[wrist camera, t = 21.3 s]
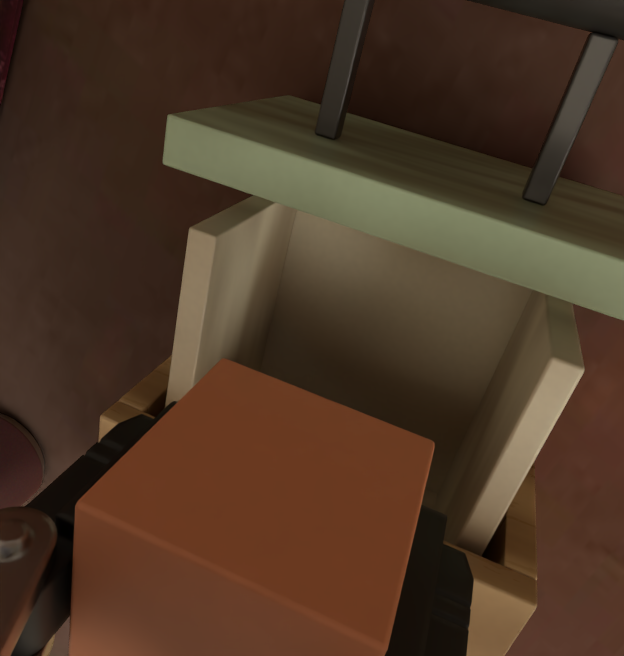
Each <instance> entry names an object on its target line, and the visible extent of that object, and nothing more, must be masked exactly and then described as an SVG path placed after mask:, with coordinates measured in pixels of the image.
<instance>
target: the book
mask: <svg viewBox="0 0 624 656" xmlns="http://www.w3.org/2000/svg"><path fill="white" fill-rule="evenodd" d="M22 5H23V0H0V105H1V101H2V96H3V92H4V87H5V82H6V78H7V73H8V69H9V64H10V60H11V55H12V50H13V46H14V41H15V37H16V32H17V28H18V23H19V18H20V14H21V9H22Z"/></svg>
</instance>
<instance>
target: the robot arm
mask: <svg viewBox="0 0 624 656" xmlns="http://www.w3.org/2000/svg"><path fill="white" fill-rule="evenodd" d="M176 403H177V401H173V402H171V403H170V404H169V405H167V406H166V407H165V408H164V409H163V410H162V411H161V412H160V413H159V414H158V415H157V416H156V417H155V418H154V419H153V418H151V417H148V416H146V415H144V414H140V415H137V416H135V417H132V418H130V419H128V420H125V421H123V422H120V423H118V424H117V425H116V426H115V427H113V428H112V429H111V430H110V431H109V432H108V433H107V434H106V435H105V436H103V437H102V438H101V440H100V442H99V443H98V442H97V443H96V444H95V445H93V446H92V447H91V448H90V449H89V450H88V451H87V452H86V454H85V456H84V455H82V456H81V457H80V458H79V459H78V460H77V461H76V462H75V463H73V464H72V465H71V466H70V467H69V468H68V469H67V470H66V471H64V472H63V473H62V474H61V475H60V476H59V477H58V478H57V479H56V480H54V481H53V482H52V483H51V484H50V485H49V486H48V487H47V488H46V489H44V490H43V491H42V492H41V493H40V494H39V495H38V496H37V497H36V498H34V499H33V500H32V501H31V502H30V503H29V504H27V505H26V506H25V507H23V506H18V507H7V508H3V509H0V656H48V655H49V653H50V651H51V648H52V645H53V643H54V636H55V633H56V632H57V631H58V629H59V628H60V627H61V626H62V625H63V623H64V622H65V621H66V620H67V618H68V617H69V616H70V609H71V587H72V565H73V543H74V521H75V506H76V503H77V502H78V500H79V499H80V498H81V497H82V496H83V495H84V494H85V493H86V492H87V491H88V490H89V489H90V488H91V487H92V486H93V485H94V484H95V483H96V482H97V481H98V480H99V479H100V478H101V477H102V476H103V475H104V474H105V473H106V472H107V471H108V470H109V469H111V468H112V467H113V466H114V465H115V464H116V463H117V462H118V461H119V460H120V459H121V458H122V457H123V456H124V455H125V454H126V453H127V452H128V451H129V450H130V449H131V448H132V447H133V446H134V445H135V444H136V443H137V442H138V441H139V440H140V439H141V438H142V437H143V436H144V435H145V434H146V433H147V432H148V431H149V430H150V429H151V428H152V427H153V426H154V425H155V424H156V423H157V422H158V421H159V420H160V419H161V418H162V417H163V416H164V415H165V414H166V413H167V412H168V411H169V410H170V409H171V408H172V407H173V406H174V405H175V404H176ZM446 523H447V515H445V514H443V513H441V512H438V511H436V510H434V509H431V508H429V507H426V506H424V505H422V504H421V508H420V512H419V517H418V521H417V525H416V530H415V534H414V538H413V543H412V547H411V551H410V556H409V560H408V564H407V568H406V573H405V577H404V581H403V586H402V590H401V594H400V599H399V603H398V607H397V611H396V616H395V620H394V624H393V629H392V633H391V637H390V642H389V646H388V650H387V652H386V654H385V656H466V655H467V645H468V634H469V630H468V627H469V624H470V614H471V609H470V607H471V604H472V594H473V584H474V578H473V575H472V572H471V569H470V566H469V563H468V560H467V557H466V554H465V553H464V552H462V551H459V550H457V549H455V548H452V547H450V546H448V545H445V544H443V541H444V535H445V529H446Z"/></svg>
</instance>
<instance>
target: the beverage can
mask: <svg viewBox="0 0 624 656" xmlns="http://www.w3.org/2000/svg"><path fill="white" fill-rule="evenodd" d="M44 471H45V463H44V457H43V454H42V451H41V449H40V447H39V445H38V443H37V442H36V440H35V439H34V437H33V436H32V435H31V434H30V433H29V431H28V430H27V429H26V428H24V427H23V426H22V425H21V424H20V423H18V422H17V421H15V420H14V419H12V418H10V417H8V416H6V415H3V414H0V509H3V508H7V507H18V506H21V505H22V504H23V503H24V502H25V501H27V500H28V499H29V498H30V497H31V496H32V495H33V494H34V493H35V492H37V490H38V489H39V487H40V485H41V482H42V479H43V476H44Z"/></svg>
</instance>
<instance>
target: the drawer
mask: <svg viewBox="0 0 624 656" xmlns="http://www.w3.org/2000/svg"><path fill="white" fill-rule="evenodd" d="M374 1H375V0H345V1H344V5H343V9H342V14H341V18H340V23H339V27H338V31H337V36H336V40H335V45H334V49H333V53H332V58H331V62H330V67H329V71H328V75H327V80H326V84H325V89H324V93H323V97H322V102H321V105H320V104H317V103H313V102H310V101H307V100H304V99H300V98H297V97H294V96H290V95H286V96H280V97H274V98H267V99H261V100H255V101H249V102H243V103H236V104H230V105H224V106H218V107H211V108H205V109H199V110H193V111H187V112H180V113H174V114H169V115H168V116H167V124H166V134H165V143H164V153H163V164H164V165H166V166H169V167H172V168H175V169H178V170H181V171H184V172H187V173H190V174H193V175H196V176H199V177H202V178H205V179H208V180H211V181H214V182H216V183H219V184H222V185H225V186H228V187H231V188H234V189H237V190H240V191H243V192H246V193H249V194H252V195H253V196H251V197H249V198H247V199H245V200H243V201H241V202H239V203H237V204H235V205H233V206H231V207H229V208H227V209H225V210H223V211H221V212H219V213H217V214H215V215H213V216H212V217H210V218H208V219H206V220H204V221H202V222H200V223H198V224H196V225H194V226H192V227H190V228H189V233H188V240H187V248H186V255H185V263H184V270H183V277H182V285H181V292H180V300H179V307H178V314H177V322H176V329H175V337H174V344H173V352H172V359H171V366H170V374H169V381H168V389H167V396H166V403H165V407H166V406H167V405H169V404H170V403H171V402H173V401H177V402H178V401H179V400H180V399H181V398H182V397H183V396H184V395H185V394H186V393H187V392H188V391H189V390H190V389H191V388H192V387H193V386H194V385H195V384H197V383H198V382H199V381H200V380H201V379H202V378H203V377H204V376H205V375H206V374H207V373H208V372H209V371H210V370H211V369H212V368H213V367H214V366H215V365H216V364H217V363H218V362H219V361H220V360H221V359H223V358H225V359H228V360H231V361H233V362H236V363H238V364H241V365H243V366H246V367H248V368H251V369H253V370H256V371H258V372H261V373H263V374H266V375H268V376H271V377H274V378H276V379H279V380H281V381H284V382H286V383H289V384H291V385H294V386H296V387H299V388H301V389H304V390H306V391H309V392H311V393H314V394H316V395H319V396H321V397H324V398H326V399H329V400H331V401H334V402H336V403H339V404H341V405H344V406H347V407H349V408H352V409H354V410H357V411H359V412H362V413H364V414H367V415H369V416H372V417H374V418H377V419H379V420H382V421H384V422H387V423H389V424H392V425H394V426H397V427H399V428H402V429H404V430H407V431H409V432H412V433H414V434H417V435H419V436H422V437H425V438H427V439H430V440H432V441H433V442H434V444H435V448H434V452H433V457H432V461H431V465H430V469H429V474H428V478H427V482H426V487H425V491H424V495H423V500H422V505H424V506H426V507H429V508H431V509H434V510H436V511H438V512H441V513H443V514H445V515H447V523H446V529H445V535H444V541H446V542H449V543H451V544H453V545H456V546H458V547H460V548H463V549H465V550H467V551H470V552H472V553H474V554H477V555H479V556H482V554H483V552H484V550H485V549H486V547H487V545H488V543H489V542H490V540H491V538H492V536H493V534H494V533H495V531H496V529H497V527H498V525H499V524H500V522H501V520H502V518H503V516H504V515H505V513H506V511H507V509H508V507H509V506H510V504H511V502H512V500H513V499H514V497H515V495H516V493H517V491H518V490H519V488H520V486H521V484H522V482H523V481H524V479H525V477H526V475H527V473H528V472H529V470H530V468H531V466H532V464H533V463H534V461H535V459H536V457H537V455H538V454H539V452H540V450H541V448H542V447H543V445H544V443H545V441H546V439H547V438H548V436H549V434H550V432H551V430H552V429H553V427H554V425H555V423H556V421H557V420H558V418H559V416H560V414H561V412H562V411H563V409H564V407H565V405H566V403H567V402H568V400H569V398H570V396H571V395H572V393H573V391H574V389H575V387H576V386H577V384H578V382H579V380H580V378H581V377H582V375H583V373H584V369H585V368H584V363H583V358H582V352H581V347H580V342H579V337H578V331H577V326H576V321H575V316H574V310H573V305H572V303H573V304H576V305H579V306H582V307H585V308H588V309H591V310H594V311H597V312H600V313H603V314H606V315H609V316H612V317H614V318H617V319H620V320H623V321H624V196H622V195H618V194H615V193H612V192H608V191H605V190H602V189H598V188H595V187H592V186H588V185H585V184H582V183H578V182H575V181H572V180H569V179H565V178H562V177H559V175H560V173H561V170H562V168H563V166H564V164H565V161H566V159H567V157H568V154H569V152H570V150H571V148H572V145H573V143H574V141H575V139H576V136H577V134H578V132H579V130H580V127H581V125H582V123H583V121H584V118H585V116H586V114H587V112H588V109H589V107H590V105H591V103H592V100H593V98H594V96H595V94H596V91H597V89H598V87H599V85H600V82H601V80H602V78H603V76H604V73H605V71H606V69H607V67H608V64H609V62H610V60H611V58H612V55H613V53H614V51H615V49H616V46H617V44H618V39H620V40H624V0H467V1H471V2H475V3H479V4H483V5H487V6H491V7H495V8H499V9H503V10H507V11H511V12H514V13H518V14H522V15H526V16H530V17H534V18H538V19H542V20H546V21H550V22H554V23H558V24H562V25H565V26H569V27H573V28H577V29H581V30H585V31H589V32H593V33H590V34H589V35H588V37H587V39H586V41H585V44H584V46H583V49H582V51H581V53H580V56H579V58H578V61H577V63H576V65H575V68H574V70H573V73H572V75H571V77H570V80H569V82H568V85H567V87H566V89H565V92H564V94H563V96H562V99H561V101H560V104H559V106H558V108H557V111H556V113H555V116H554V118H553V120H552V123H551V125H550V128H549V130H548V132H547V135H546V137H545V140H544V142H543V144H542V147H541V149H540V151H539V154H538V156H537V159H536V161H535V163H534V166H533V168H529V167H525V166H522V165H519V164H516V163H512V162H509V161H506V160H502V159H499V158H496V157H492V156H489V155H486V154H482V153H479V152H476V151H472V150H469V149H466V148H463V147H459V146H456V145H453V144H449V143H446V142H443V141H439V140H436V139H433V138H429V137H426V136H423V135H419V134H416V133H413V132H410V131H406V130H403V129H400V128H396V127H393V126H390V125H386V124H383V123H380V122H376V121H373V120H370V119H366V118H363V117H360V116H357V115H353V114H350V113H347V109H348V105H349V101H350V97H351V93H352V89H353V85H354V81H355V77H356V73H357V69H358V65H359V61H360V57H361V53H362V49H363V45H364V41H365V37H366V33H367V29H368V25H369V21H370V17H371V13H372V9H373V5H374Z"/></svg>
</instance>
